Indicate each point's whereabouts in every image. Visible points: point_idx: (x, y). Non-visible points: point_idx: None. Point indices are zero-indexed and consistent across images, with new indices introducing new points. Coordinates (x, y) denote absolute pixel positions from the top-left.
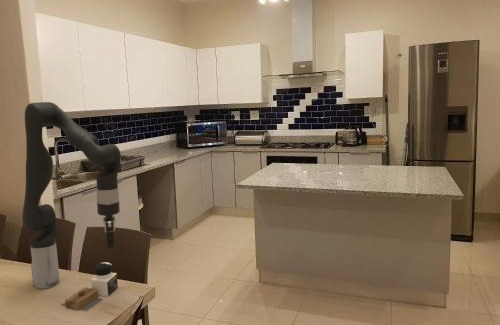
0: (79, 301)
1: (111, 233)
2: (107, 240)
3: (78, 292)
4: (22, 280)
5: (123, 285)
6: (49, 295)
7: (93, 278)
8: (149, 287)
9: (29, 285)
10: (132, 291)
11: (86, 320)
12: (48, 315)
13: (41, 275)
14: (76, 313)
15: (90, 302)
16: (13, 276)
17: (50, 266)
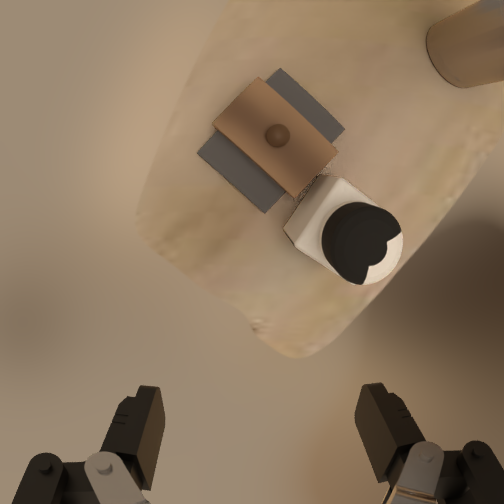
0: (220, 129)
1: (371, 445)
2: (123, 435)
3: (302, 124)
4: None
5: None
6: (381, 45)
7: (344, 189)
8: (300, 356)
9: None
10: (298, 307)
11: (155, 156)
12: (240, 38)
13: (452, 23)
14: None
15: (257, 166)
16: None
17: (476, 45)
